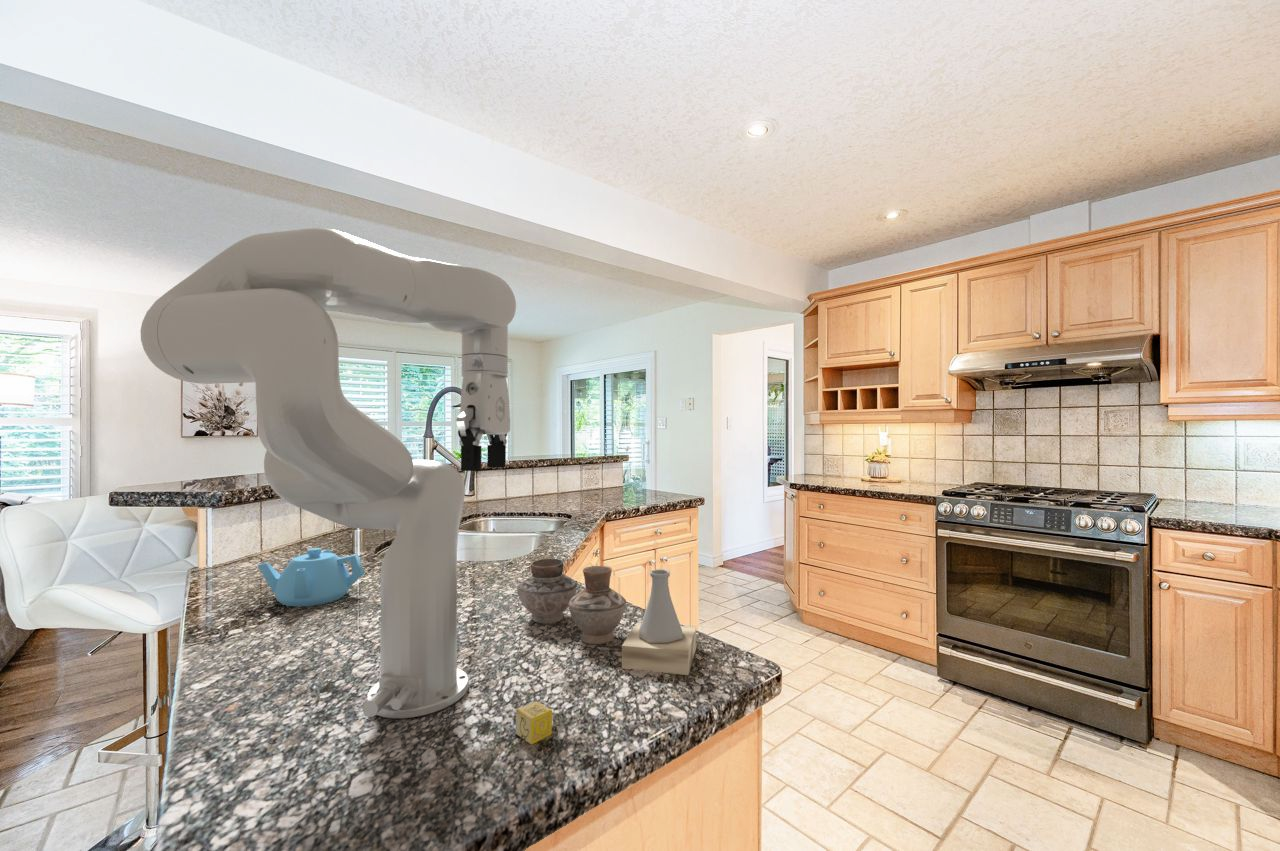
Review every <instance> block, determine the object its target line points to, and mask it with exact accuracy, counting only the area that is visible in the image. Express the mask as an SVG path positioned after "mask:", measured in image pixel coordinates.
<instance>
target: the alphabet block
mask: <svg viewBox="0 0 1280 851" xmlns="http://www.w3.org/2000/svg"><path fill="white" fill-rule="evenodd" d="M552 724H553V710H552V709H551V708H549V707H547V706H546V705H544V704H542V702H539V701H537V700H534V701H532V702H530V703H526V704H525V705H522V706H520V707H518V708H516V710H515V734H516V735H517V736H518V737H520V738H521V739H523V740H524V741H525V742H527V743H528V744H529V745H534V744H535V743H537V742H540V741H541V740H543V739H545V738H547V737H549V736H551V735H552V731H553V730H552V728H553V725H552Z"/></svg>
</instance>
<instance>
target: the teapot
mask: <svg viewBox="0 0 1280 851" xmlns="http://www.w3.org/2000/svg"><path fill="white" fill-rule="evenodd" d="M322 551H323V552H322ZM332 551H333V550H332V549H324V550H323V548H321V547H313V548H307V550H306V553H307V554H302V555H298V556H295V557H293V558H292V559H290V561H289V562H288V564H286V567H285V568H284V569H283V571H281V574H280V572H278V570H276V569H275V568H274V567H273V566H272V565H271V564H270V563H269V562H263V563H259V564H258V565H257V567H258V569H259V570H260V571H261V574H262V576H263V577H264V579H265V581H266V583H267V584H268V586H269V588H270V589H271V591H272V593H273V594H274V597H275V600H276V601H278V603H280V604H281V605H283V606H284V605H286V606H285V607H288V606H307V607H313V606H314V605H315V606H319V605H320V606H321V605H324V604H329V603H332V602H335V601H337V600H340V599H342V598H343V597H344V596H345V595H346V594H347V592H349V590H350V589H351V587H352V585H353V584H355V583H356V582H357V581H358V580H359V579H360V578H361V577H362V576H363V575H365V574H366V573H365V570H364V566H363V565H362V561H361V559H360V556H359V553H356V554H351V555H346V556H342V557H339V556H338V555H337V554H336V553H334V552H332ZM346 563H349V565H350V569H351V571H352V573H351V574H350V572H349V571H348V568H347V566H346V565H345V564H346ZM341 597H342V598H341Z"/></svg>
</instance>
